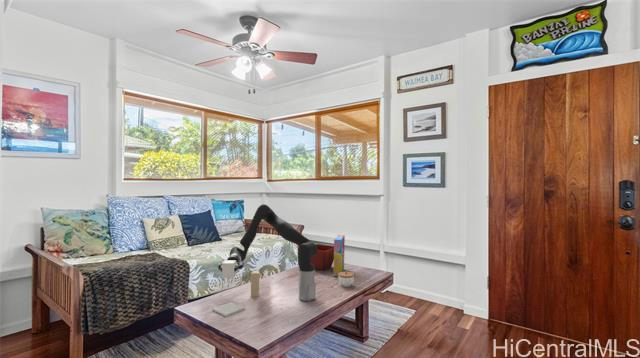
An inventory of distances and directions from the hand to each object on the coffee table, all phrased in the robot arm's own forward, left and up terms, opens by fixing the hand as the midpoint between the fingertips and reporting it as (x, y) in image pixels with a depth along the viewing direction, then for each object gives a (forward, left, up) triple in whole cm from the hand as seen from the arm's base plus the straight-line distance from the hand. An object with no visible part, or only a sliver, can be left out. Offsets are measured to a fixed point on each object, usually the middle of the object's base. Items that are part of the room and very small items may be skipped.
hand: (228, 269), depth 164 cm
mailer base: (+8, -25, -22) cm, 34 cm away
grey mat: (+2, -2, -22) cm, 23 cm away
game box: (-4, -97, -23) cm, 99 cm away
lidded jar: (-24, -77, -23) cm, 84 cm away
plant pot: (+14, -97, -23) cm, 100 cm away
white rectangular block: (+2, -2, -4) cm, 5 cm away
